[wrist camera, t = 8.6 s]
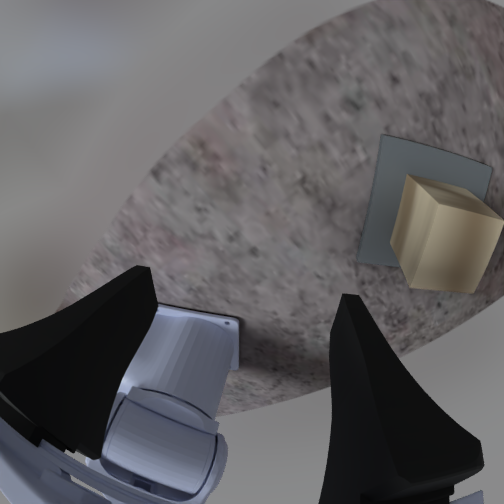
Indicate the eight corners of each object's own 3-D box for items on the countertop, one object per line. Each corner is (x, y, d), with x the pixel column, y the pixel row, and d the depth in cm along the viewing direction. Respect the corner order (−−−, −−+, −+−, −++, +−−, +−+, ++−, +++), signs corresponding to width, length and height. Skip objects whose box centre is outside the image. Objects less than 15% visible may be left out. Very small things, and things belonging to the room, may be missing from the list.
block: (389, 242, 18) (409, 287, 14) (406, 173, 15) (438, 204, 11) (446, 251, 17) (473, 293, 13) (466, 189, 14) (504, 221, 10)
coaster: (356, 257, 20) (357, 262, 19) (381, 133, 15) (383, 135, 14) (453, 270, 18) (456, 274, 18) (488, 165, 14) (492, 167, 13)
